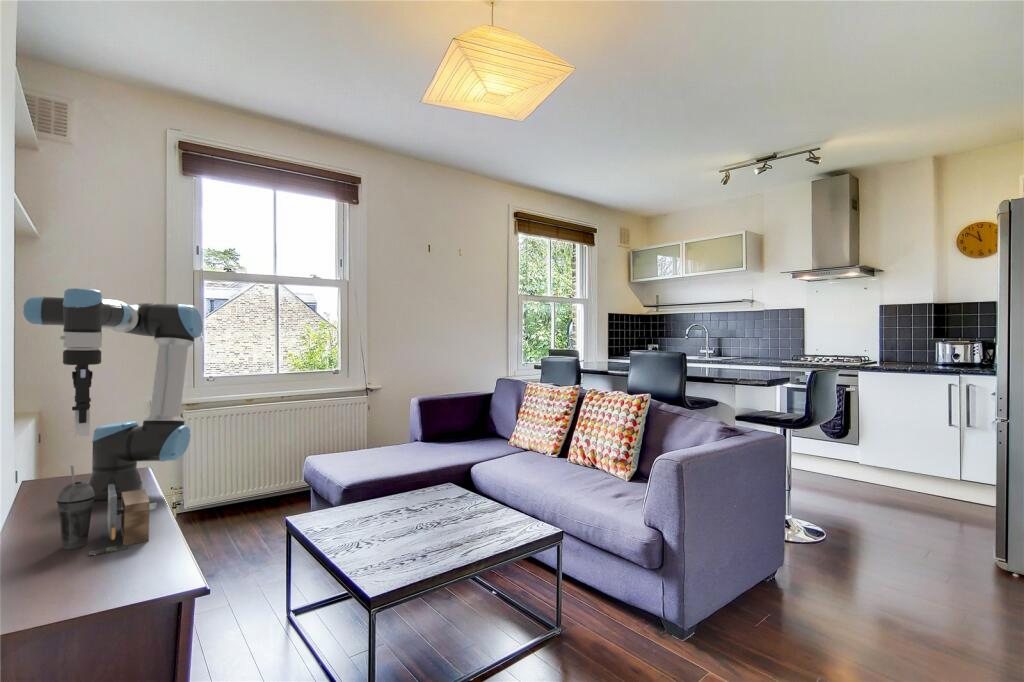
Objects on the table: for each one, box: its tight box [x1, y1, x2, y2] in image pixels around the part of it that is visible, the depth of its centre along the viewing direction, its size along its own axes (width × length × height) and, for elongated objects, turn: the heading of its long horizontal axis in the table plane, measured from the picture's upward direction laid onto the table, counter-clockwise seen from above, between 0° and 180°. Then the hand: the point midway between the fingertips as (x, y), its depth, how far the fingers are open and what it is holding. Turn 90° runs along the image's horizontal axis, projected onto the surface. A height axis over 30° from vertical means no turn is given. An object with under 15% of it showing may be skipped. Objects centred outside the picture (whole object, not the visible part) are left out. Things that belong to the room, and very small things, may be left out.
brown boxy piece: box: [88, 488, 150, 557], centre depth 128 cm, size 12×17×10 cm
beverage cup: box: [56, 465, 95, 550], centre depth 124 cm, size 7×7×20 cm
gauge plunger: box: [106, 484, 158, 541], centre depth 131 cm, size 10×16×10 cm, turn 41°
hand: (81, 431), depth 129 cm, fingers open, 13 cm apart
